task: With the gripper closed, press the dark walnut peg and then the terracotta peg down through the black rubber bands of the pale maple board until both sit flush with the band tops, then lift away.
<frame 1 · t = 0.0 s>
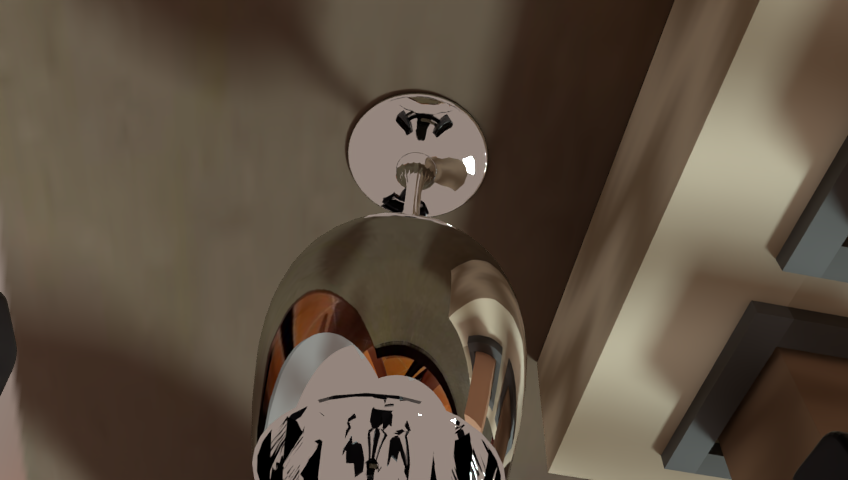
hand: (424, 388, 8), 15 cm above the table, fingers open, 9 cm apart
peg a: (828, 441, 20), point 6 cm above the table, slide at 3.5 cm
board: (811, 198, 23), on the table
wineglass: (418, 154, 23), on the table
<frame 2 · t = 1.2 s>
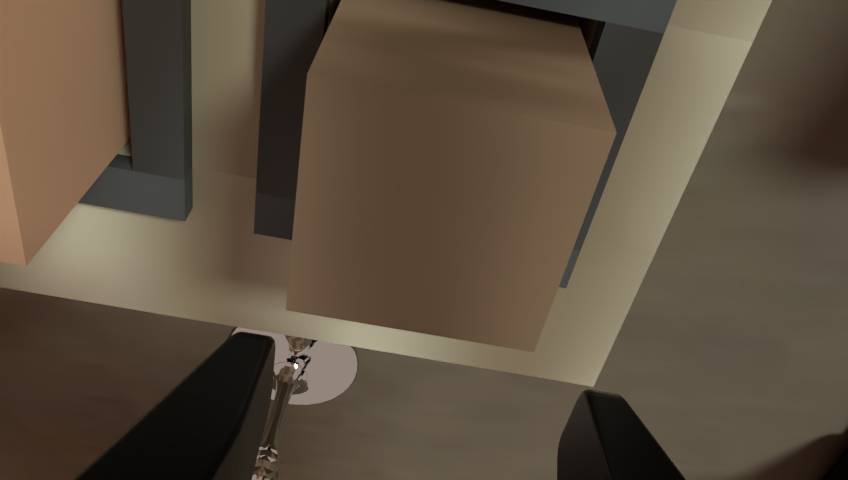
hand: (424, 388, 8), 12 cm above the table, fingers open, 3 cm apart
peg a: (440, 143, 12), point 6 cm above the table, slide at 3.5 cm
wineglass: (294, 354, 25), on the table
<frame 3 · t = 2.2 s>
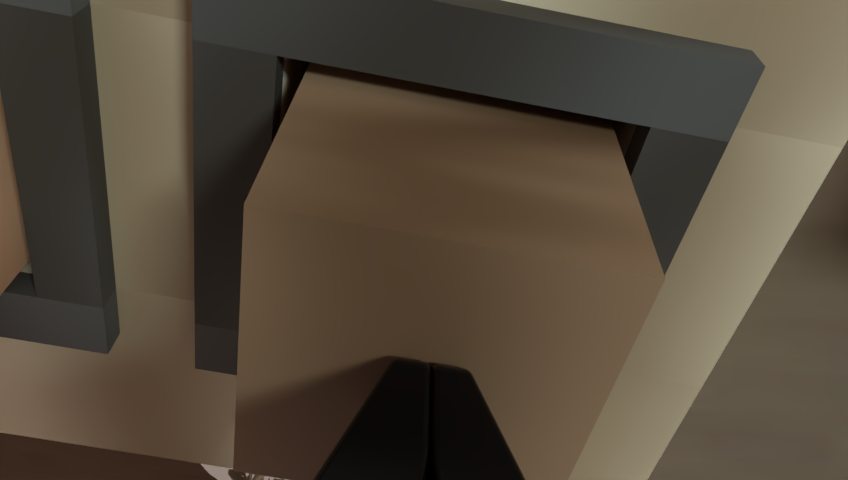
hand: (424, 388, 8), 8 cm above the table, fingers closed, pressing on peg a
peg a: (431, 246, 10), point 6 cm above the table, slide at 2.7 cm, touching gripper
board: (244, 43, 14), on the table
wineglass: (268, 444, 22), on the table
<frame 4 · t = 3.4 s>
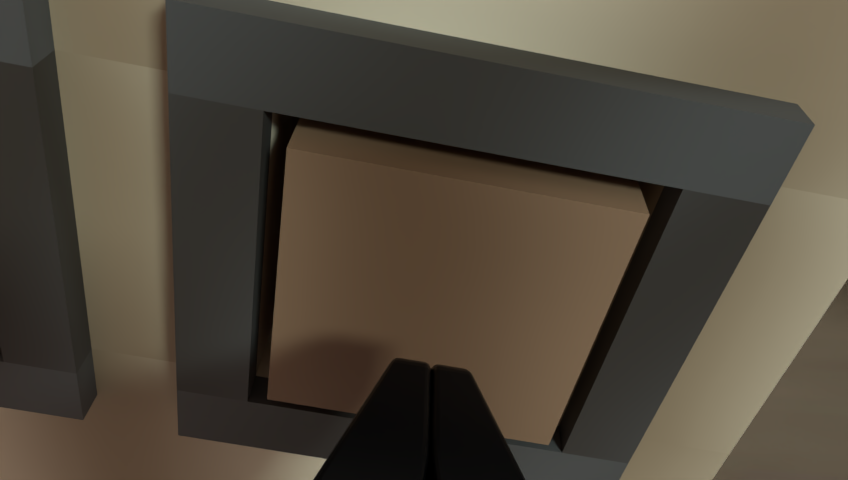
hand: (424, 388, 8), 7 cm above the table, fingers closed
peg a: (443, 204, 11), point 3 cm above the table, slide at 0.2 cm
board: (234, 75, 13), on the table
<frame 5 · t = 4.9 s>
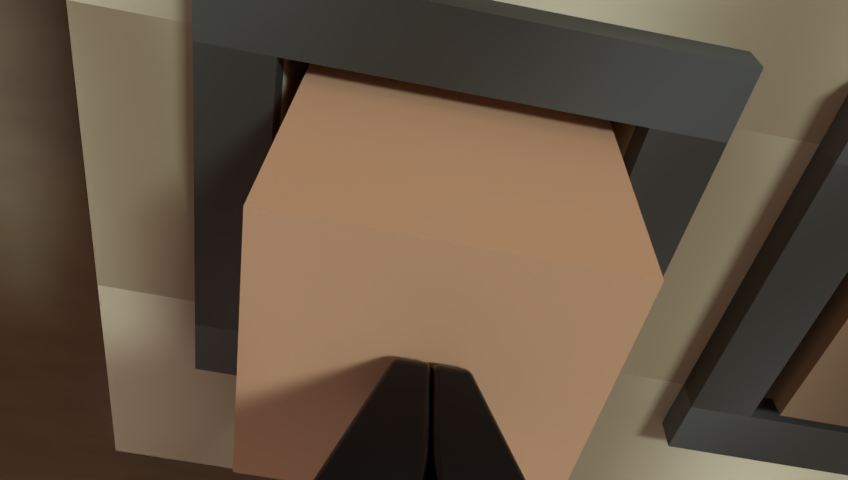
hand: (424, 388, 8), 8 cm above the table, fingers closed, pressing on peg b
peg b: (431, 248, 10), point 6 cm above the table, slide at 2.7 cm, touching gripper
board: (636, 119, 15), on the table
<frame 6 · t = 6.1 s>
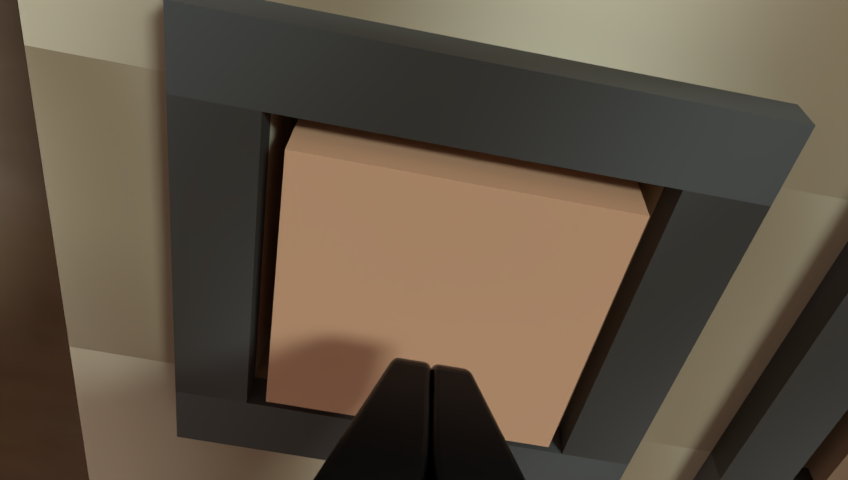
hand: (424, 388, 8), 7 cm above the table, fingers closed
peg b: (442, 205, 11), point 3 cm above the table, slide at 0.2 cm
board: (654, 154, 14), on the table
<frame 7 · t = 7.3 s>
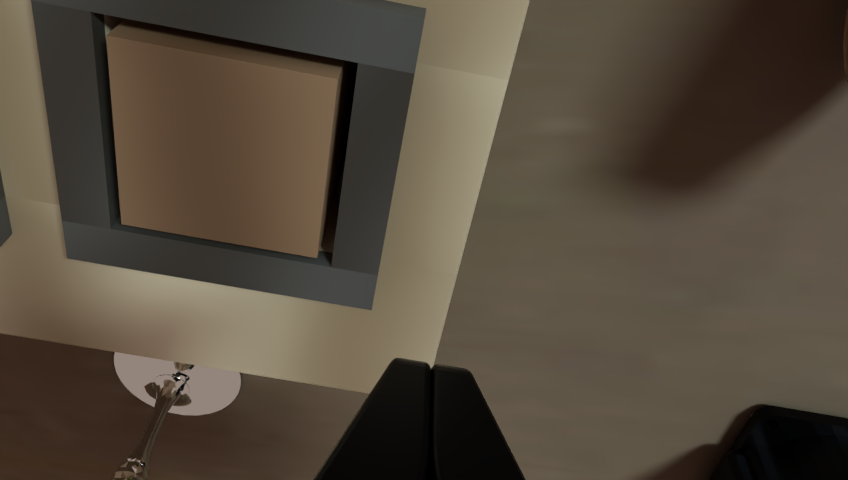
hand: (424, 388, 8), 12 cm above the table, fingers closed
peg a: (254, 98, 16), point 3 cm above the table, slide at 0.2 cm
board: (124, 16, 18), on the table
wineglass: (180, 366, 26), on the table
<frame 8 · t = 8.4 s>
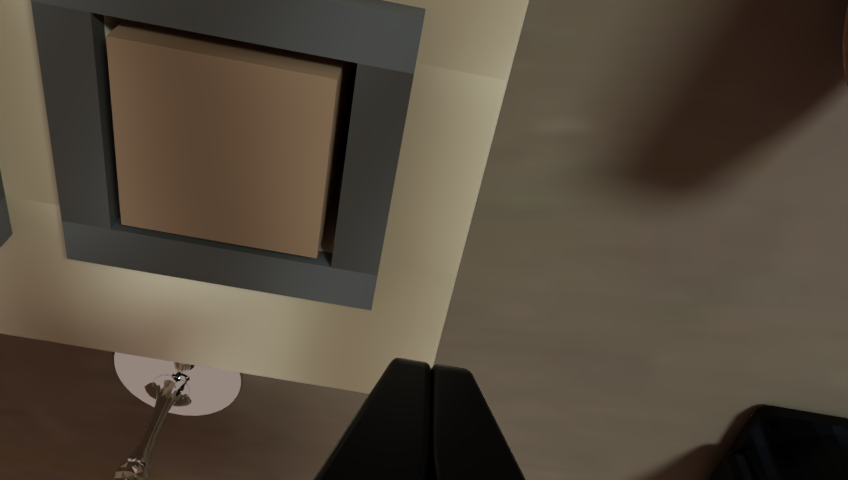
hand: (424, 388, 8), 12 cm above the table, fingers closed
peg a: (254, 99, 16), point 3 cm above the table, slide at 0.2 cm
board: (123, 17, 18), on the table
wineglass: (180, 366, 26), on the table
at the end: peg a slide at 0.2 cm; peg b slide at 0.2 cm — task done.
